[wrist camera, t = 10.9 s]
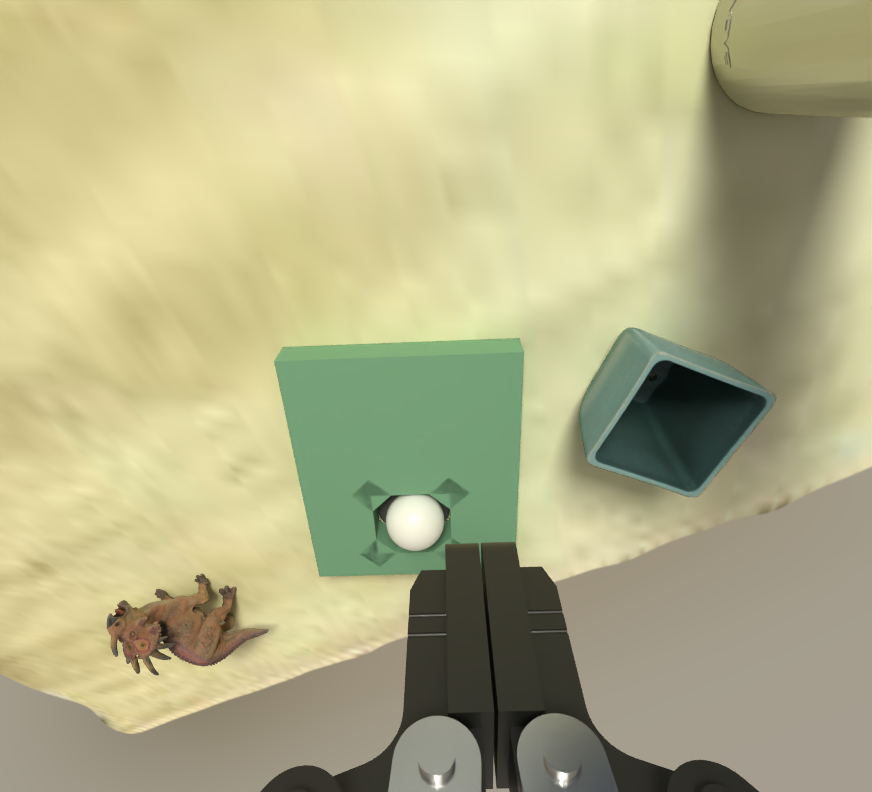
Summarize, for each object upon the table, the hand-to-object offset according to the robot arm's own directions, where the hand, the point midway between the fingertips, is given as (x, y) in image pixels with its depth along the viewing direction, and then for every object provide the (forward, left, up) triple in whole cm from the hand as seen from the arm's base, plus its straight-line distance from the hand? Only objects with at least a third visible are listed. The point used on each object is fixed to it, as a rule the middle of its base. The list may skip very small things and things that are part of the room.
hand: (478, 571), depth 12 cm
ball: (+4, +22, -26) cm, 35 cm away
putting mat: (+4, +18, -29) cm, 34 cm away
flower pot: (-14, +10, -29) cm, 34 cm away
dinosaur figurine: (+26, +34, -29) cm, 52 cm away
